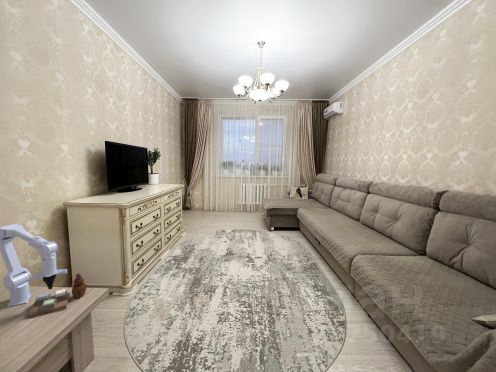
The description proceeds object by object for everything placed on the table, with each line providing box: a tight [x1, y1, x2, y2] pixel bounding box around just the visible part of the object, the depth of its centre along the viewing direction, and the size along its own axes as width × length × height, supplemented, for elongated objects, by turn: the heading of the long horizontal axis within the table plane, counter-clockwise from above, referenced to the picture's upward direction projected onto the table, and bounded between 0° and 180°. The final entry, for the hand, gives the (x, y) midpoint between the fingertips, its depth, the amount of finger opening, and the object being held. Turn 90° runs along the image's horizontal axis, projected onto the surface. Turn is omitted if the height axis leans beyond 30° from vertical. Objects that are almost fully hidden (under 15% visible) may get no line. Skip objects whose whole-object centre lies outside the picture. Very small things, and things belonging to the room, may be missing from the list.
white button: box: [54, 288, 67, 297], centre depth 126 cm, size 4×4×2 cm
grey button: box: [36, 292, 50, 301], centre depth 122 cm, size 4×4×2 cm
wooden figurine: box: [71, 273, 87, 299], centre depth 130 cm, size 7×6×15 cm
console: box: [27, 289, 71, 319], centre depth 121 cm, size 14×15×4 cm
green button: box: [43, 299, 55, 306], centre depth 118 cm, size 4×4×2 cm
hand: (50, 288), depth 122 cm, fingers closed
